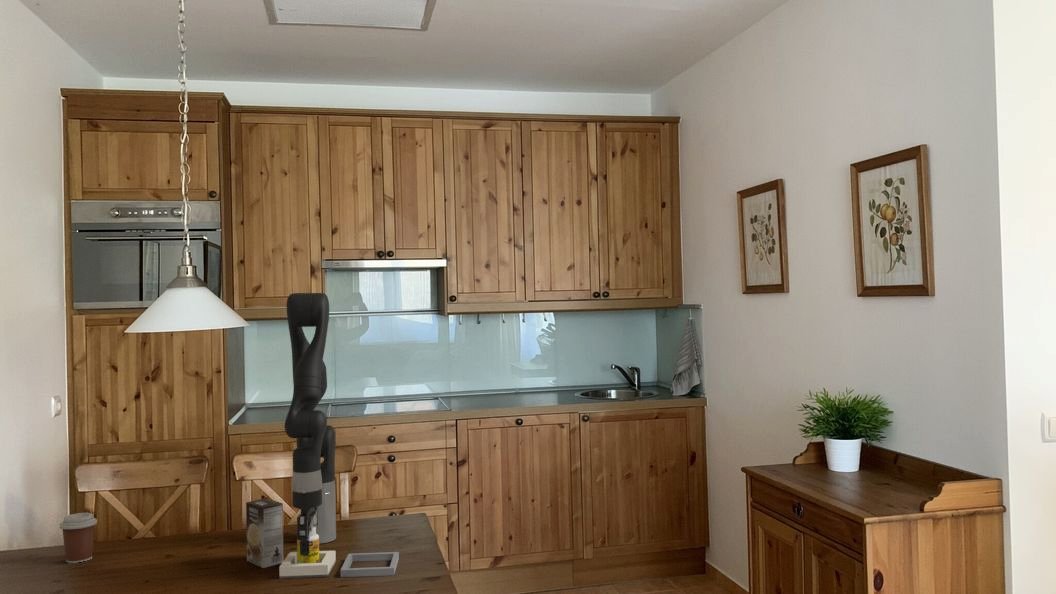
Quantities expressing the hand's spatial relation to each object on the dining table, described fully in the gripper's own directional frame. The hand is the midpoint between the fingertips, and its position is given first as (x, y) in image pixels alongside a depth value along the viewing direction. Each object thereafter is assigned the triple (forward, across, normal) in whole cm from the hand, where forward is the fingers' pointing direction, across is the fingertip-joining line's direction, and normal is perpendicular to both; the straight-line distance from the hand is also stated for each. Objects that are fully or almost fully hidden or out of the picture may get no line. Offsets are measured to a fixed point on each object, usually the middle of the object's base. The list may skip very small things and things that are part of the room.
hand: (308, 549), depth 215 cm
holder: (+5, 0, 0) cm, 5 cm away
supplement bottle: (+5, 0, 0) cm, 5 cm away
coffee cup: (+5, -16, -65) cm, 67 cm away
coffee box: (+5, -8, -13) cm, 16 cm away
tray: (+5, 0, +16) cm, 17 cm away
